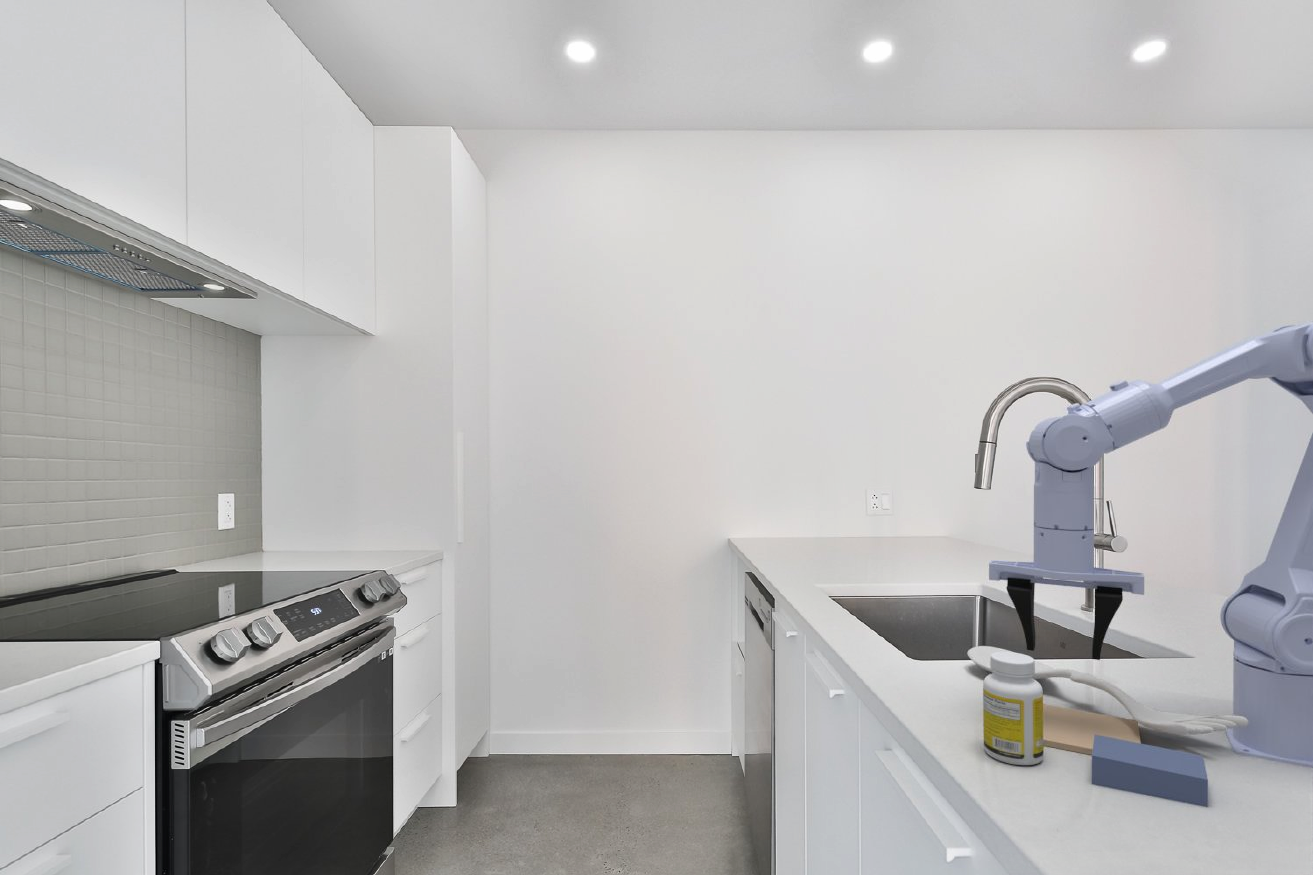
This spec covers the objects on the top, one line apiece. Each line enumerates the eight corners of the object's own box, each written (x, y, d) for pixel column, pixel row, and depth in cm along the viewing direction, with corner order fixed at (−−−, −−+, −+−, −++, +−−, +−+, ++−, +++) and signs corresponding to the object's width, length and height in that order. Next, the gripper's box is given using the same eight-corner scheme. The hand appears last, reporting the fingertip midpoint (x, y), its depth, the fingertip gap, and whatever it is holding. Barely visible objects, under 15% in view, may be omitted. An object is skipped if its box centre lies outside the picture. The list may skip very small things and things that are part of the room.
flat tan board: (1137, 725, 80) (1137, 720, 80) (1142, 765, 70) (1142, 758, 70) (997, 701, 87) (997, 696, 87) (985, 733, 78) (985, 728, 78)
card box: (1202, 788, 67) (1202, 755, 67) (1207, 814, 62) (1207, 779, 62) (1094, 764, 71) (1094, 734, 71) (1091, 787, 67) (1091, 755, 67)
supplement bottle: (1024, 742, 75) (1024, 648, 75) (1054, 766, 70) (1055, 665, 70) (973, 743, 75) (973, 649, 75) (999, 767, 70) (1000, 666, 70)
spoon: (1185, 759, 69) (1185, 723, 69) (952, 666, 100) (952, 640, 100) (1251, 750, 72) (1251, 714, 72) (1005, 661, 102) (1005, 637, 103)
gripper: (1142, 527, 78) (1141, 653, 78) (994, 519, 86) (994, 633, 86) (1145, 535, 72) (1145, 671, 72) (986, 525, 80) (986, 649, 80)
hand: (1062, 652), depth 79 cm, fingers open, 5 cm apart
